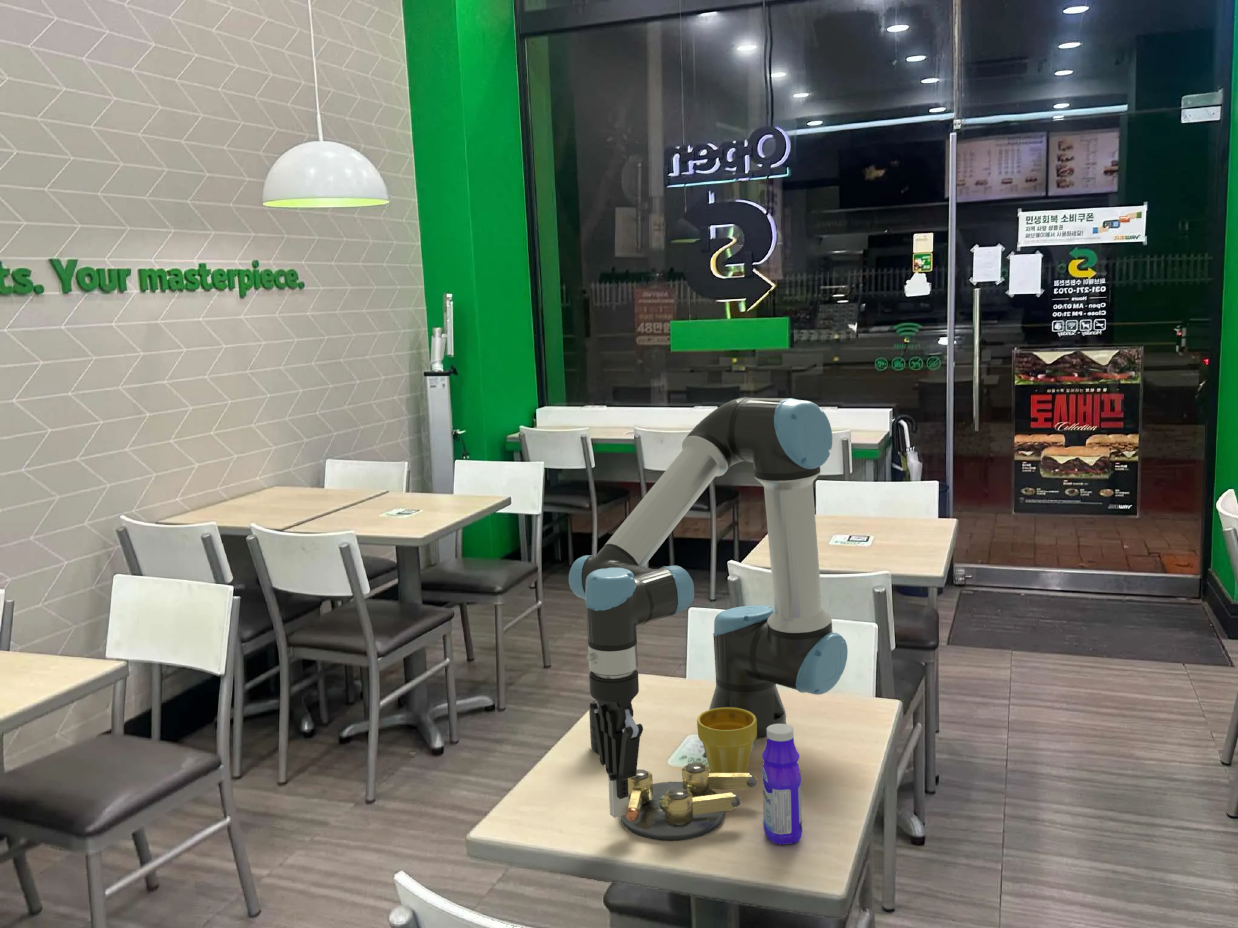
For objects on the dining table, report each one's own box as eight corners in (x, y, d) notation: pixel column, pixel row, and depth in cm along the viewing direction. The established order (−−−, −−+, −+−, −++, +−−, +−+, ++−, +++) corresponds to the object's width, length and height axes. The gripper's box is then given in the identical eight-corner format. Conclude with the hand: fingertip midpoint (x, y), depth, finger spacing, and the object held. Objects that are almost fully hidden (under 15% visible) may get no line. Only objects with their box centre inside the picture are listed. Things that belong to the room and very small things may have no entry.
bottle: (759, 825, 162) (756, 720, 160) (794, 822, 163) (792, 717, 160) (769, 849, 155) (766, 739, 153) (806, 845, 156) (804, 736, 153)
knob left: (682, 795, 168) (681, 772, 168) (683, 783, 173) (682, 760, 172) (757, 795, 167) (757, 772, 167) (756, 783, 172) (756, 760, 171)
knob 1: (628, 790, 171) (627, 767, 171) (654, 790, 171) (653, 767, 170) (617, 826, 159) (616, 802, 159) (646, 827, 159) (645, 802, 158)
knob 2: (668, 825, 159) (667, 800, 159) (662, 811, 163) (661, 788, 163) (744, 815, 161) (744, 791, 160) (737, 802, 165) (736, 778, 165)
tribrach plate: (710, 784, 177) (709, 769, 177) (737, 832, 160) (736, 816, 160) (612, 796, 174) (611, 781, 174) (629, 846, 158) (629, 830, 157)
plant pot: (723, 789, 175) (721, 734, 174) (687, 768, 184) (685, 716, 182) (770, 772, 180) (768, 719, 179) (733, 752, 189) (731, 702, 188)
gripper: (572, 662, 161) (579, 803, 165) (612, 688, 150) (618, 838, 154) (614, 653, 165) (620, 791, 169) (656, 677, 154) (661, 824, 158)
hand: (619, 813), depth 161 cm, fingers closed
